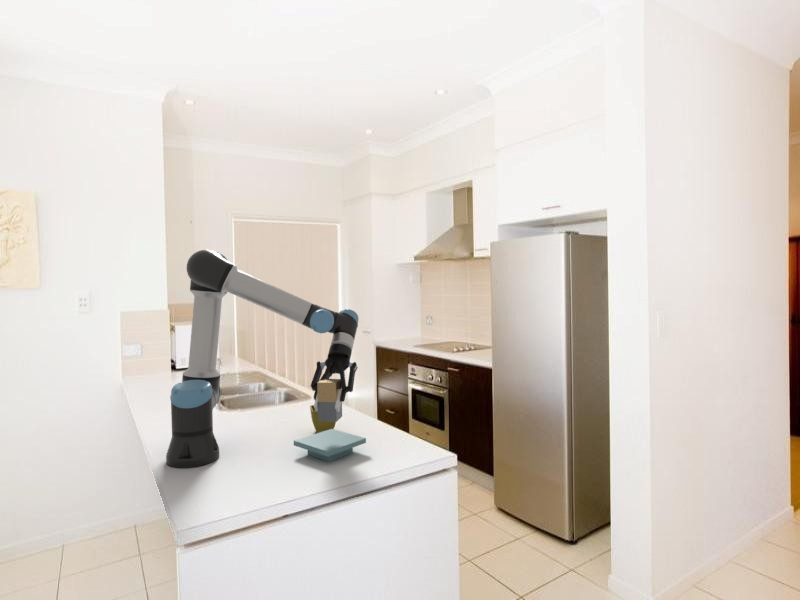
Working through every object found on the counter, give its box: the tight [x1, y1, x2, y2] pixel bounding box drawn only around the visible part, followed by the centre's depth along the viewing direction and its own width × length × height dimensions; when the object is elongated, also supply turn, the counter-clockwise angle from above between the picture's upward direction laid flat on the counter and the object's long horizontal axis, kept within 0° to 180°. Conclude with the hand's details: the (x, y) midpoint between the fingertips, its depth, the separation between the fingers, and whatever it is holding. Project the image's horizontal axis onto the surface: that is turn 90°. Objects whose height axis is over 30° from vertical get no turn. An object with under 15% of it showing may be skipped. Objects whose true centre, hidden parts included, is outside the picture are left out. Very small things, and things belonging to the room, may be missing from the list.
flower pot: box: [309, 404, 337, 434], centre depth 182 cm, size 9×9×9 cm
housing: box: [317, 378, 343, 423], centre depth 159 cm, size 6×6×12 cm
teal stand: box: [293, 428, 367, 462], centre depth 159 cm, size 16×16×4 cm
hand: (326, 409), depth 155 cm, fingers closed on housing, 6 cm apart
